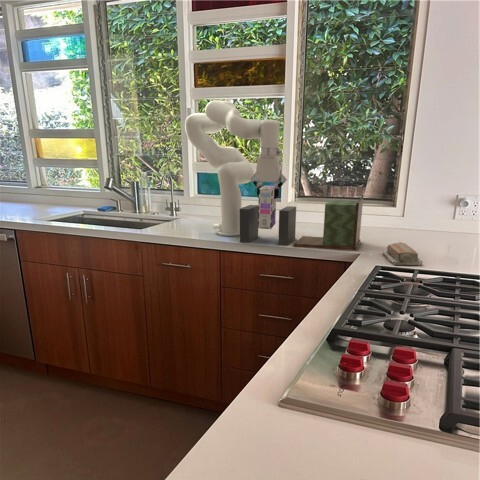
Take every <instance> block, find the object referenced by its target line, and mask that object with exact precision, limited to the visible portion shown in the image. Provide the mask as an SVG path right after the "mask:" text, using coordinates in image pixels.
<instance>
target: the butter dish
mask: <svg viewBox="0 0 480 480" xmlns="http://www.w3.org/2000/svg"><path fill="white" fill-rule="evenodd" d="M381 252H382V255H384V256H385V257H386V259H387V260H388V262H391V263H392V264H393V265H394V266H422V265H423V260H422V259H420V258H419V255H418V254H419V253H418V252H417V251H416V250H415V249H413V248H412V247H410V246H409V245H408V244H407V243H405V242H395V243H391V244H388V245H387V247H386V250H385V251H384V250H382V251H381ZM392 261H393V262H394V263H393V262H392Z"/></svg>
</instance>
